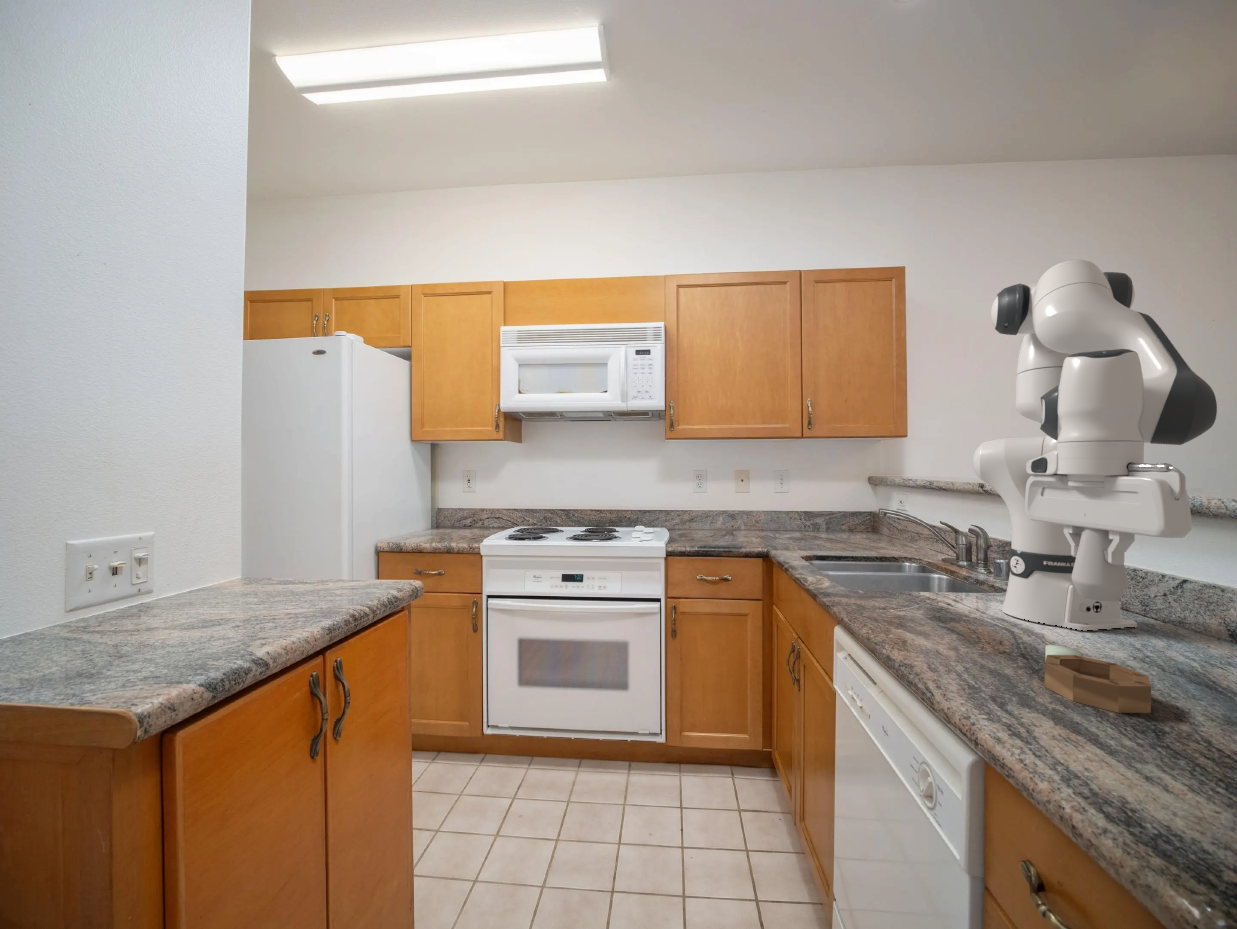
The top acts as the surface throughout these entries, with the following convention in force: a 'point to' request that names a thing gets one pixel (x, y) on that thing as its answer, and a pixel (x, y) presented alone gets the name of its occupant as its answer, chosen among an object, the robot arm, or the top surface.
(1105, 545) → the salt shaker
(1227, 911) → the top surface
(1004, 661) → the top surface
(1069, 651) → the smooth pale green pebble
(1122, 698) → the walnut ring
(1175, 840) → the top surface
